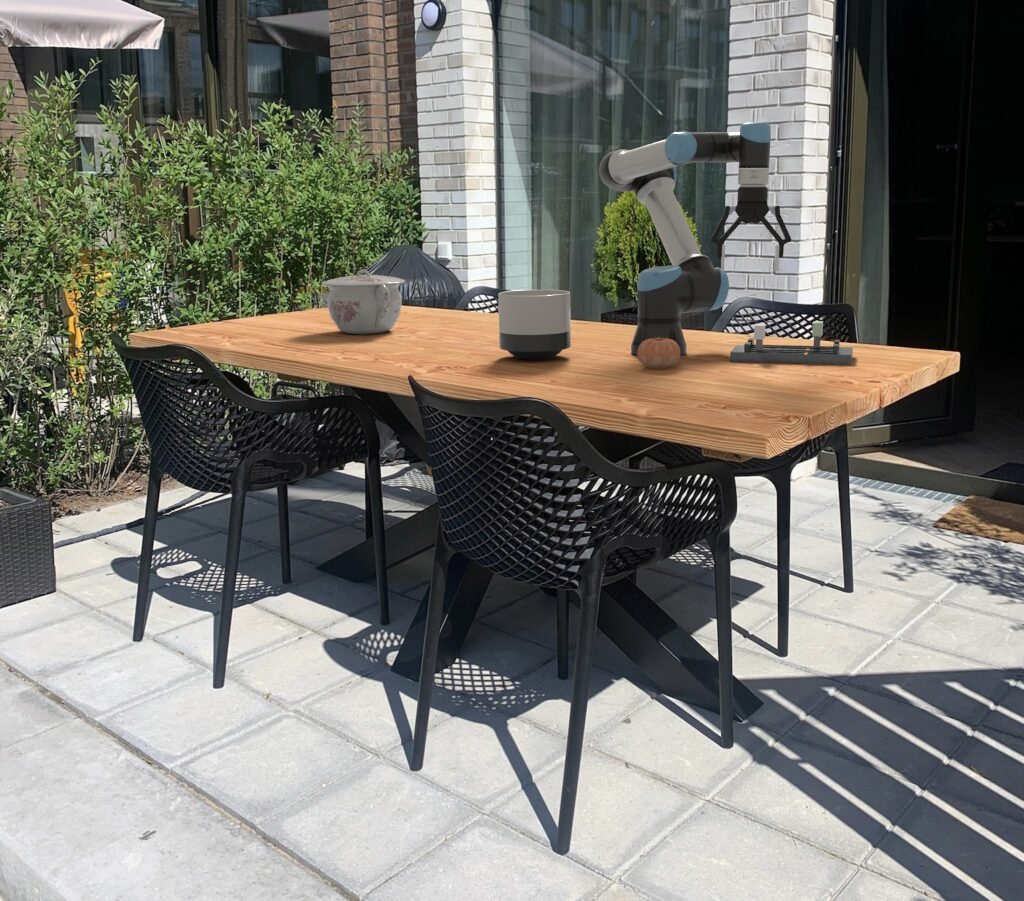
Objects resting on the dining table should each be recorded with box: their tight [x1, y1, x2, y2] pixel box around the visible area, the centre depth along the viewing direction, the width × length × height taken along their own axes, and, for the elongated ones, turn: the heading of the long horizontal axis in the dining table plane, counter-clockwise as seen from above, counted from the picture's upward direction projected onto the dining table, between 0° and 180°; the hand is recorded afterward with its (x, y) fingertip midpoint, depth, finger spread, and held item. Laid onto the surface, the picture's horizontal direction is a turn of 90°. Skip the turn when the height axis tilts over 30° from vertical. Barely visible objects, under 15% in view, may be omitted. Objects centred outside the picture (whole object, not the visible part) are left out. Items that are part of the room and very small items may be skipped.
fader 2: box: [811, 320, 824, 347], centre depth 283 cm, size 2×4×6 cm, turn 162°
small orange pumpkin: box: [636, 337, 681, 370], centre depth 272 cm, size 11×11×8 cm
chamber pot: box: [321, 268, 406, 336], centre depth 356 cm, size 28×28×21 cm
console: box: [729, 337, 854, 366], centre depth 281 cm, size 30×16×4 cm, turn 72°
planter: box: [497, 288, 572, 361], centre depth 292 cm, size 19×19×18 cm
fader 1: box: [753, 323, 766, 350], centre depth 280 cm, size 2×4×6 cm, turn 162°
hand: (749, 270), depth 280 cm, fingers open, 13 cm apart
